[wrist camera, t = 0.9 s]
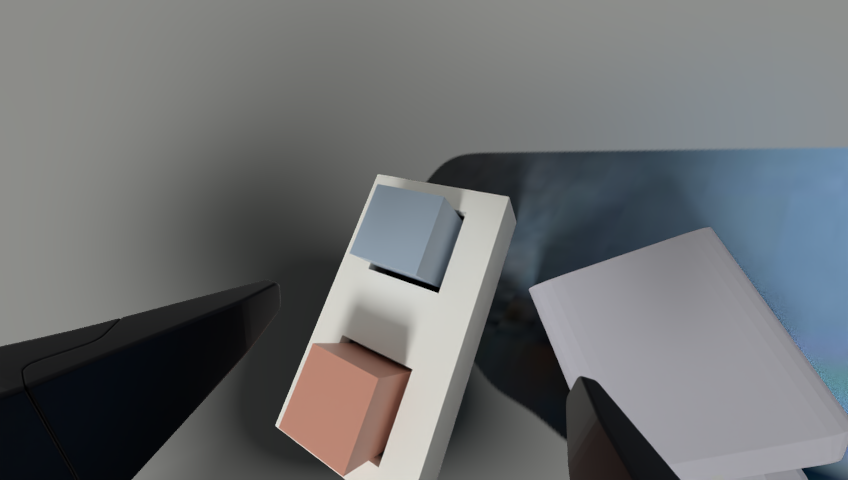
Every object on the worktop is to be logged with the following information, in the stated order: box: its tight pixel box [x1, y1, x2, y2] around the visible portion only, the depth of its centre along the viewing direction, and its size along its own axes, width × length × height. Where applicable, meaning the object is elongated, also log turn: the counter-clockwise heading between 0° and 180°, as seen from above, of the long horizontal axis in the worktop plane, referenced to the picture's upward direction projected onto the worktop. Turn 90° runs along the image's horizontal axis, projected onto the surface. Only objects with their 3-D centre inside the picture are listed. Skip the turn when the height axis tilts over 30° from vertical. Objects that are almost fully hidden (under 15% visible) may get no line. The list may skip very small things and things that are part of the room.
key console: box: [275, 174, 517, 480], centre depth 21 cm, size 18×10×4 cm, turn 159°
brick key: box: [279, 343, 412, 477], centre depth 18 cm, size 5×5×4 cm
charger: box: [529, 227, 848, 480], centre depth 15 cm, size 5×9×15 cm
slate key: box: [350, 184, 463, 288], centre depth 20 cm, size 5×5×4 cm
